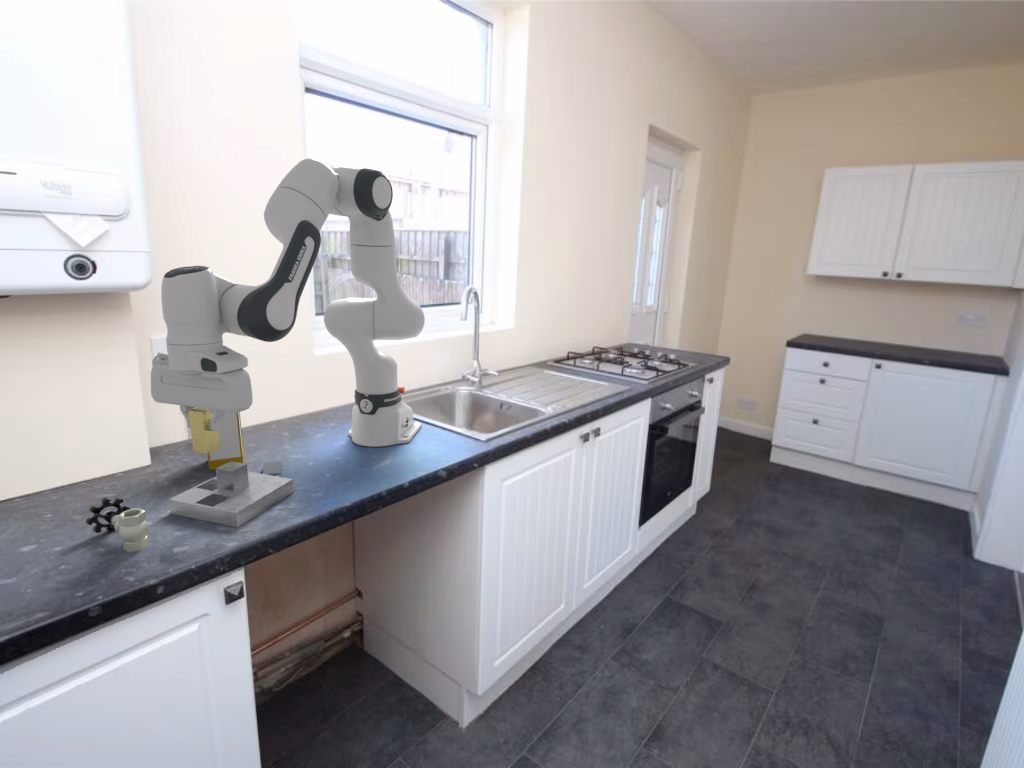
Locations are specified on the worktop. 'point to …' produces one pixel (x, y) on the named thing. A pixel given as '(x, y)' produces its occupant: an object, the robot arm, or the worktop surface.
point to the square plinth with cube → (231, 495)
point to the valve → (122, 524)
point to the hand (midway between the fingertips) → (204, 429)
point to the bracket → (273, 468)
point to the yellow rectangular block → (202, 431)
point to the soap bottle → (228, 442)
